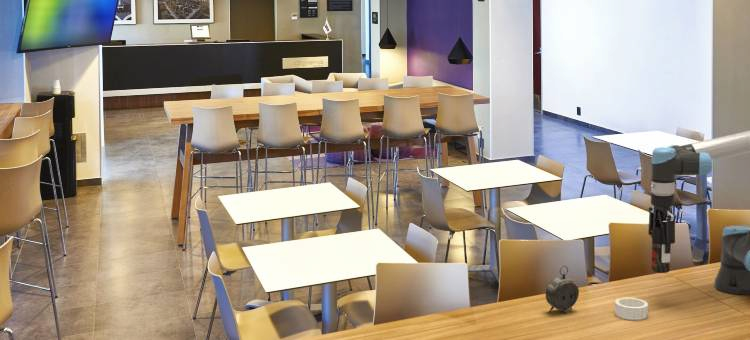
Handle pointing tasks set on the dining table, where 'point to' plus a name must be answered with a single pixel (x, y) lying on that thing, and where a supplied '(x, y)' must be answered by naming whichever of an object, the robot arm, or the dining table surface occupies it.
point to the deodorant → (658, 251)
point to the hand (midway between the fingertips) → (660, 259)
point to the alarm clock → (562, 293)
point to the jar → (631, 308)
